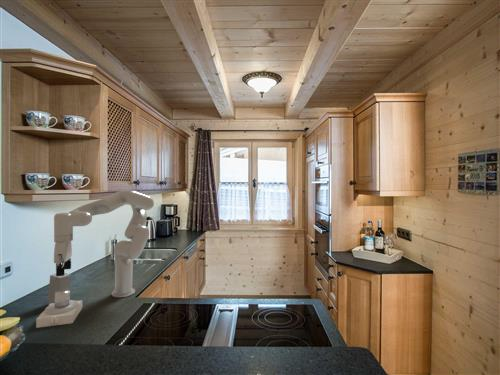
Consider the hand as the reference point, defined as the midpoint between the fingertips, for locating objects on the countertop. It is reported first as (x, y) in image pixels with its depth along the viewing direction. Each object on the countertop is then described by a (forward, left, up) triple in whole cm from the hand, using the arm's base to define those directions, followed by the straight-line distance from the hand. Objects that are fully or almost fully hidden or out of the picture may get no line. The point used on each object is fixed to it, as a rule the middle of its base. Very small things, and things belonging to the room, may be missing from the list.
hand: (63, 272), depth 127 cm
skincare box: (-16, -6, -22) cm, 27 cm away
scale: (+1, 0, -22) cm, 21 cm away
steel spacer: (0, 0, -17) cm, 16 cm away
